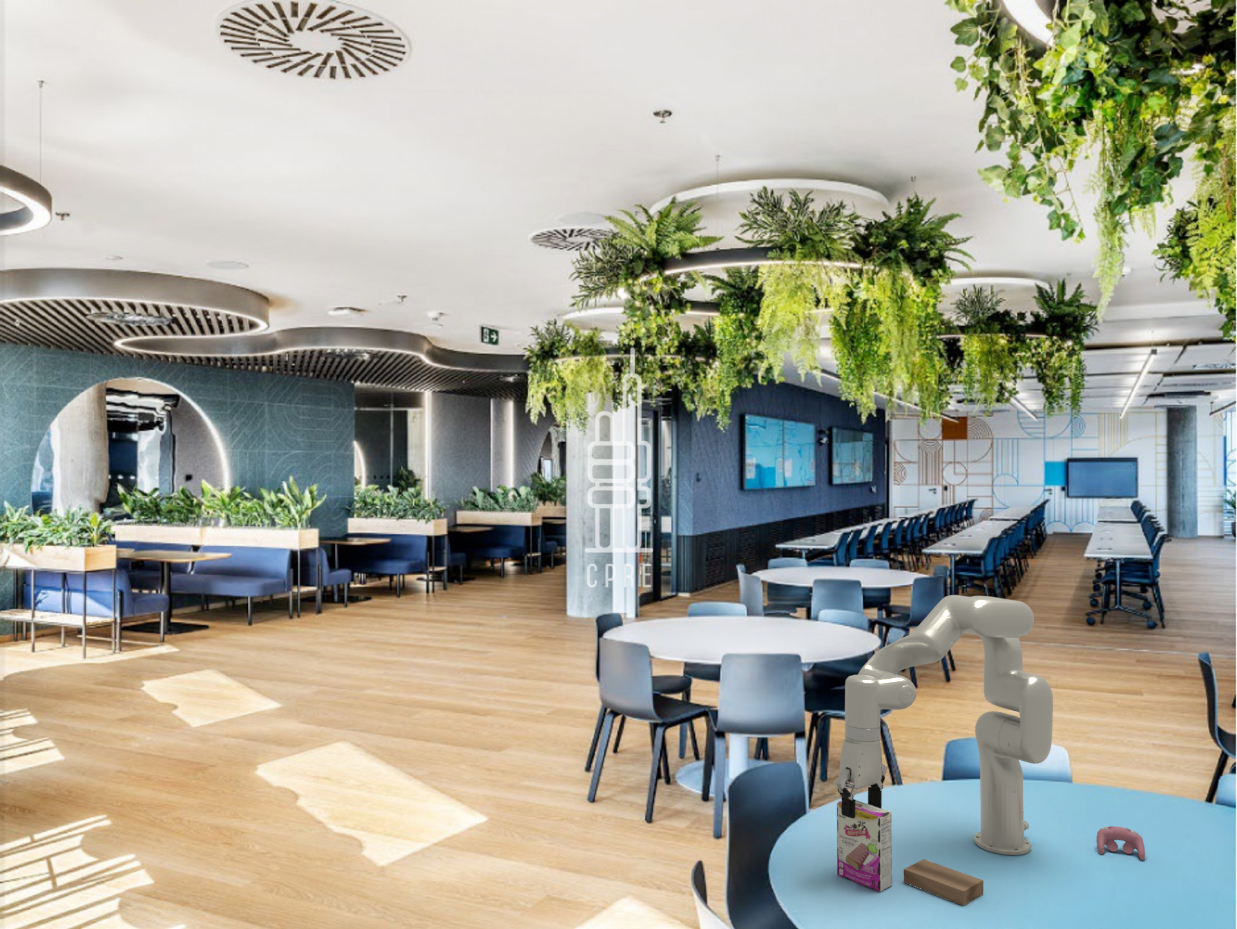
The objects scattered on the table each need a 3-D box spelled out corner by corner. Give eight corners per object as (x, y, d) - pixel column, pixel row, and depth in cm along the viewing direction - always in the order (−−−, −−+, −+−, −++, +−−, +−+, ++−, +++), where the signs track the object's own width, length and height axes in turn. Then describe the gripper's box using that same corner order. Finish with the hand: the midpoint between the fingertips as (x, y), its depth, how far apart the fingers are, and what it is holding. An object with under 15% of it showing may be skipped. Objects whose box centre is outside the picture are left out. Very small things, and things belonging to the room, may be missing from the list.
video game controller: (1144, 862, 209) (1142, 831, 212) (1146, 860, 205) (1144, 828, 208) (1096, 855, 213) (1095, 824, 216) (1097, 853, 209) (1096, 821, 212)
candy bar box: (835, 876, 198) (835, 802, 198) (848, 870, 201) (848, 796, 202) (880, 893, 190) (879, 816, 190) (893, 886, 193) (892, 810, 193)
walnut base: (923, 872, 200) (923, 858, 200) (983, 894, 189) (983, 880, 189) (903, 882, 195) (903, 868, 195) (963, 906, 184) (963, 891, 184)
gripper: (870, 723, 205) (870, 798, 204) (824, 735, 193) (823, 815, 193) (899, 730, 199) (899, 808, 198) (853, 743, 188) (852, 825, 187)
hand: (861, 811), depth 196 cm, fingers open, 9 cm apart
